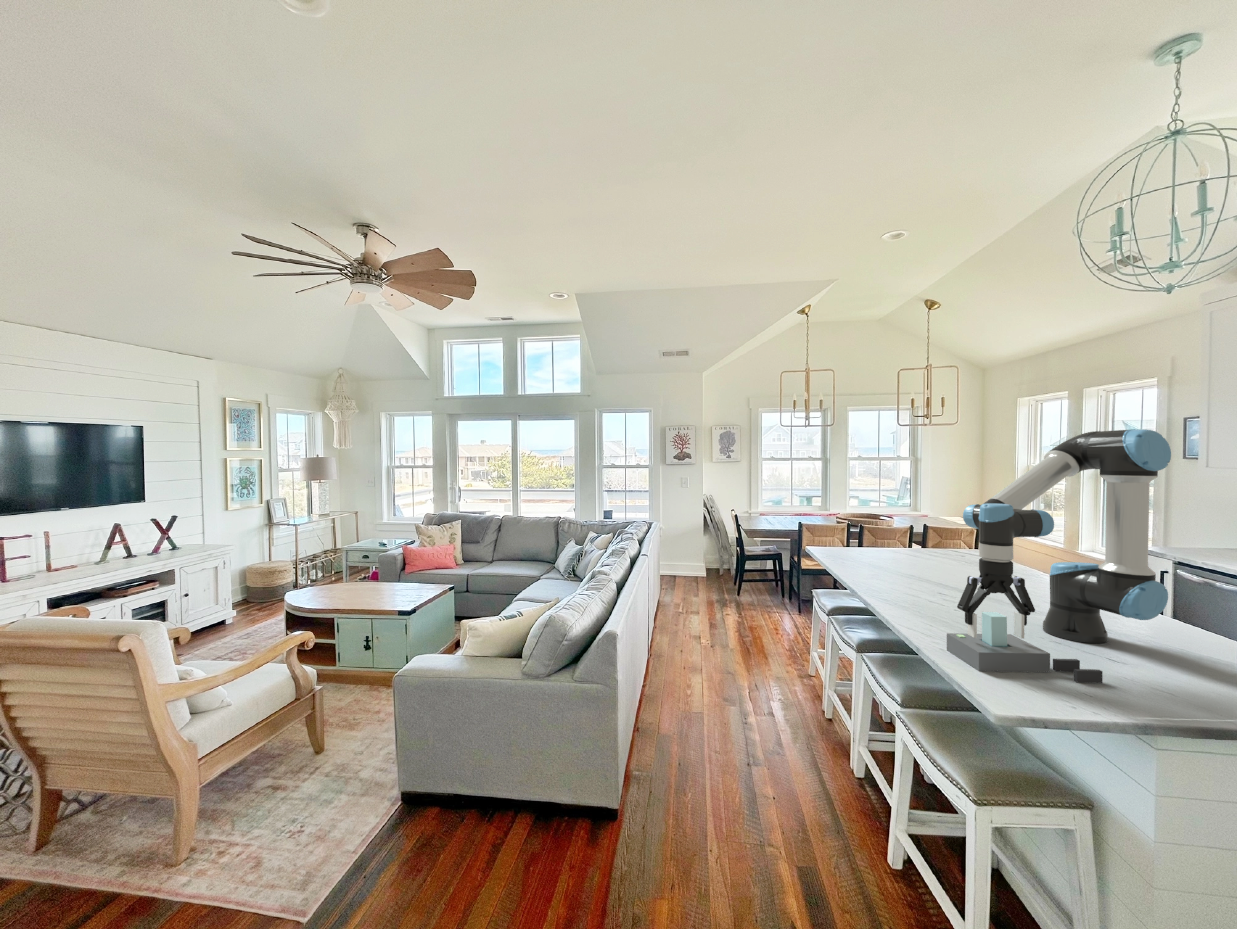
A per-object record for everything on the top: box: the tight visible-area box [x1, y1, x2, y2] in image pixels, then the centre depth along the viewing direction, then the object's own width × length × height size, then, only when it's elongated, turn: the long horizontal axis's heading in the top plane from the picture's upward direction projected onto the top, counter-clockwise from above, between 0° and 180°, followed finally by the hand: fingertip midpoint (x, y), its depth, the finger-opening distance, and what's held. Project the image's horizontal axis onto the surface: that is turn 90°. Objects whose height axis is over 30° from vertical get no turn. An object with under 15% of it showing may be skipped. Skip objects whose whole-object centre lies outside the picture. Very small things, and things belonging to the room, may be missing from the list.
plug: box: [981, 611, 1008, 647], centre depth 135 cm, size 4×4×12 cm
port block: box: [946, 632, 1051, 673], centre depth 135 cm, size 18×14×5 cm
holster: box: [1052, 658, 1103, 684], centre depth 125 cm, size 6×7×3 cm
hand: (995, 636), depth 135 cm, fingers open, 12 cm apart
